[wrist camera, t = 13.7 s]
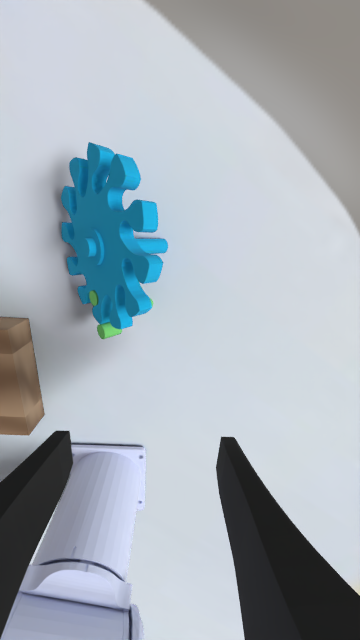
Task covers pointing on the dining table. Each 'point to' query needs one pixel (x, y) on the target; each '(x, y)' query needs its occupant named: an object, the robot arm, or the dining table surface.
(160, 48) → the dining table surface
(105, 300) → the gear
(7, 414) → the socket block
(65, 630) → the robot arm
